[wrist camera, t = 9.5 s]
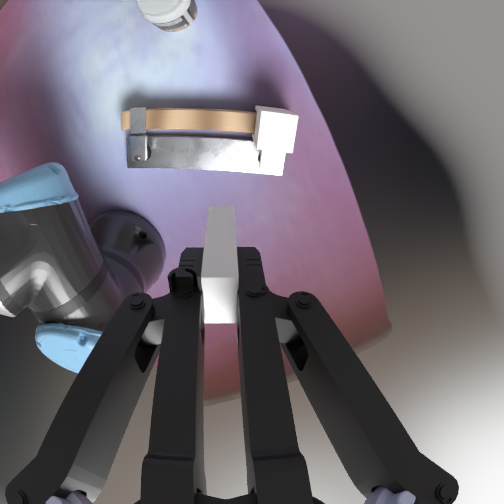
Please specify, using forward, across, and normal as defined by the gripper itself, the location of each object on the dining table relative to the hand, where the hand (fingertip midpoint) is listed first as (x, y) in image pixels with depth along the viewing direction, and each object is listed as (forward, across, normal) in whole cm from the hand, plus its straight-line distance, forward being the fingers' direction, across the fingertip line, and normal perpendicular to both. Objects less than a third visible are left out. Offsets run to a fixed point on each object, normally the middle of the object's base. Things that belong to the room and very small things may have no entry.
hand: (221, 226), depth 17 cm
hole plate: (+23, -3, -1) cm, 23 cm away
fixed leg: (+22, -11, +2) cm, 25 cm away
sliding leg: (+23, +6, +2) cm, 24 cm away
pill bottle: (+23, -7, +19) cm, 31 cm away
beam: (+23, -2, +4) cm, 24 cm away
